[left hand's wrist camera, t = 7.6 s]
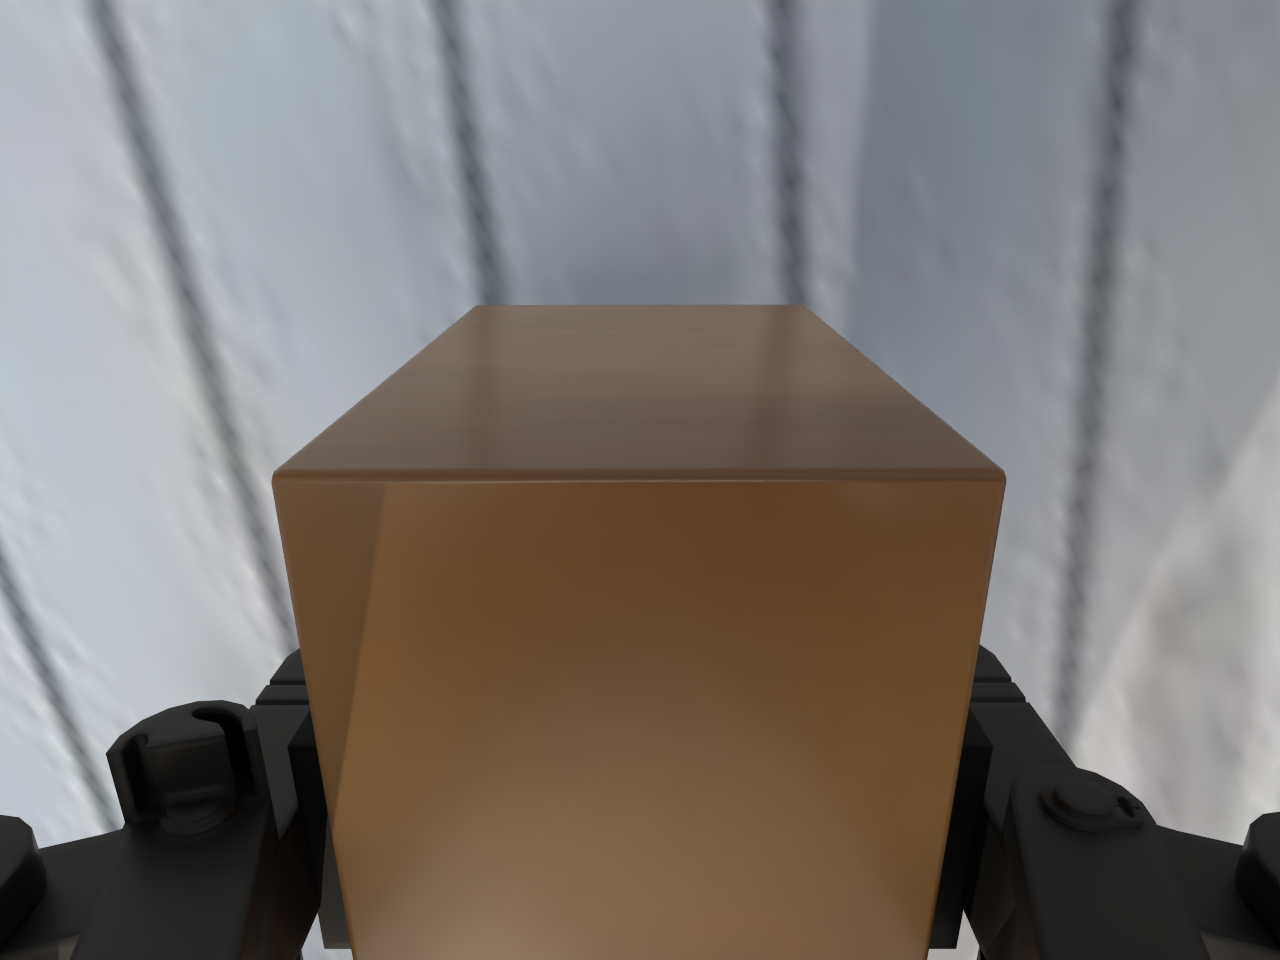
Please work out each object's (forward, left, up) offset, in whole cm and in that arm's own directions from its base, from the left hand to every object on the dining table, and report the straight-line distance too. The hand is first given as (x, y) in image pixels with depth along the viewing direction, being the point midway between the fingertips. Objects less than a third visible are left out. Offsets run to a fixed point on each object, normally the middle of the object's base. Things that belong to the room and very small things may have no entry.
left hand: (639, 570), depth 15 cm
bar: (-3, +31, -1) cm, 31 cm away
